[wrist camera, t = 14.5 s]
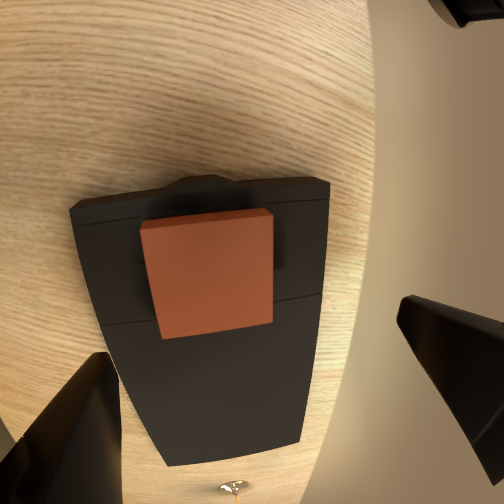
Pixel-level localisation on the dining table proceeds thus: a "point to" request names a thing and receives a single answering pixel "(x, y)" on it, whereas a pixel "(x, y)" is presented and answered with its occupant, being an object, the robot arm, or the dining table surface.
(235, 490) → the wineglass
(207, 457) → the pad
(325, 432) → the dining table surface
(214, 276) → the reddish orange rectangular block
